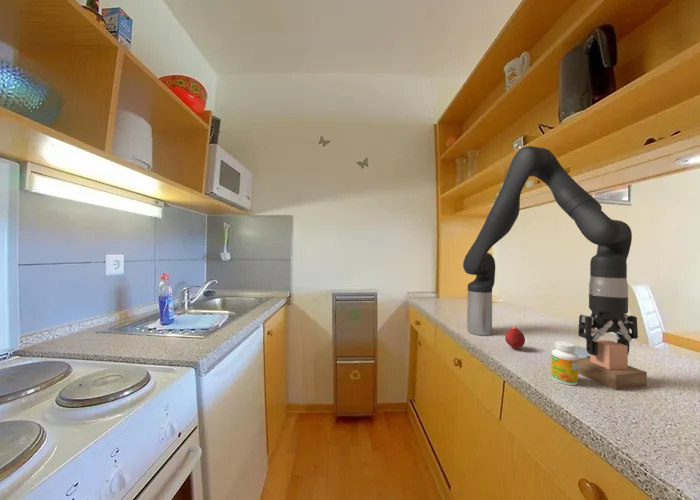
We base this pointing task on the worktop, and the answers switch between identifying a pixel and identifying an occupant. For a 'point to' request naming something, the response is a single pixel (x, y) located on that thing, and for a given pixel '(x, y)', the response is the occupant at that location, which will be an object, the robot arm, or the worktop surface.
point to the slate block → (581, 352)
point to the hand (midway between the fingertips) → (607, 354)
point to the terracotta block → (611, 355)
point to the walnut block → (612, 375)
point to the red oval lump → (515, 338)
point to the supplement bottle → (565, 363)
